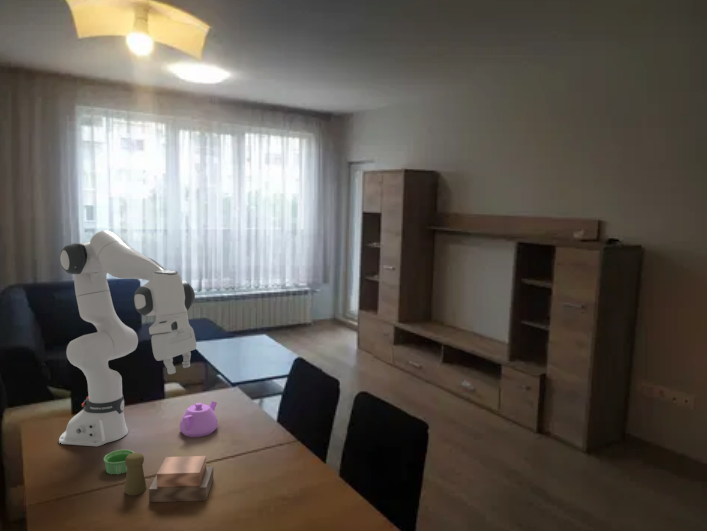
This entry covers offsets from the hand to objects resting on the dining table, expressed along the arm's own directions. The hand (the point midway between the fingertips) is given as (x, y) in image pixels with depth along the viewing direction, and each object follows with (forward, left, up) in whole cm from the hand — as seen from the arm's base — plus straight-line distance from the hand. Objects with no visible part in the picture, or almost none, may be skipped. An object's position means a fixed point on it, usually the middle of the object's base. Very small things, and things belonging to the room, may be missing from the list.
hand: (179, 370), depth 150 cm
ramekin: (-22, +12, -37) cm, 45 cm away
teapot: (-2, +40, -37) cm, 54 cm away
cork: (-13, -1, -37) cm, 39 cm away
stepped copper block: (+1, -2, -36) cm, 36 cm away
